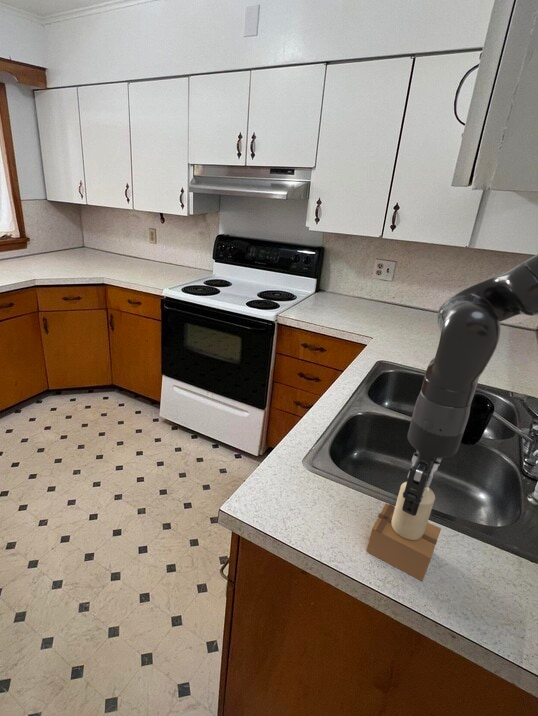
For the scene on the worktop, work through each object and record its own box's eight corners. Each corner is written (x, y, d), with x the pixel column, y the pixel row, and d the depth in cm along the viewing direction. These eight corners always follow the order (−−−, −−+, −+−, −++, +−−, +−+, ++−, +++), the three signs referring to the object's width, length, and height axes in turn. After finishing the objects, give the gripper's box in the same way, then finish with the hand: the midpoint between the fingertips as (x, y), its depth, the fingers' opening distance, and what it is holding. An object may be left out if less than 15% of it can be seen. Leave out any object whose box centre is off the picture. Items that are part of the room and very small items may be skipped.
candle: (429, 529, 77) (443, 487, 73) (414, 545, 74) (427, 502, 69) (400, 511, 81) (412, 470, 76) (385, 526, 77) (396, 483, 73)
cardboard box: (433, 551, 80) (441, 527, 77) (422, 582, 74) (431, 557, 72) (379, 524, 86) (385, 502, 83) (365, 551, 80) (371, 527, 77)
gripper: (455, 452, 60) (428, 534, 67) (472, 409, 70) (447, 484, 77) (401, 432, 64) (381, 512, 71) (424, 394, 74) (404, 467, 81)
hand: (415, 497), depth 74 cm, fingers open, 8 cm apart
